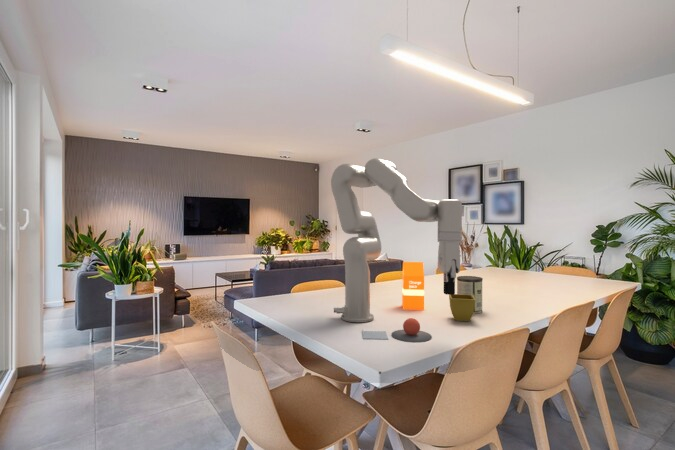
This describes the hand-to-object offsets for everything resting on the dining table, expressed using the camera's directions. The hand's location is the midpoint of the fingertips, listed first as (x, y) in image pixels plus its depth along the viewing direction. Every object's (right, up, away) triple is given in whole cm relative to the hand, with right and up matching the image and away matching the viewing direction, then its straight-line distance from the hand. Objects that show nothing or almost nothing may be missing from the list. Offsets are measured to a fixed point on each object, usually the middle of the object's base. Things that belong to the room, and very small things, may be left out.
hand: (449, 293), depth 119 cm
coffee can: (+20, -14, +37) cm, 44 cm away
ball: (-12, -11, +2) cm, 17 cm away
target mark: (-12, -14, +1) cm, 19 cm away
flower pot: (+11, -14, +22) cm, 29 cm away
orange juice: (-3, -14, +42) cm, 45 cm away
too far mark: (-24, -14, +2) cm, 28 cm away
